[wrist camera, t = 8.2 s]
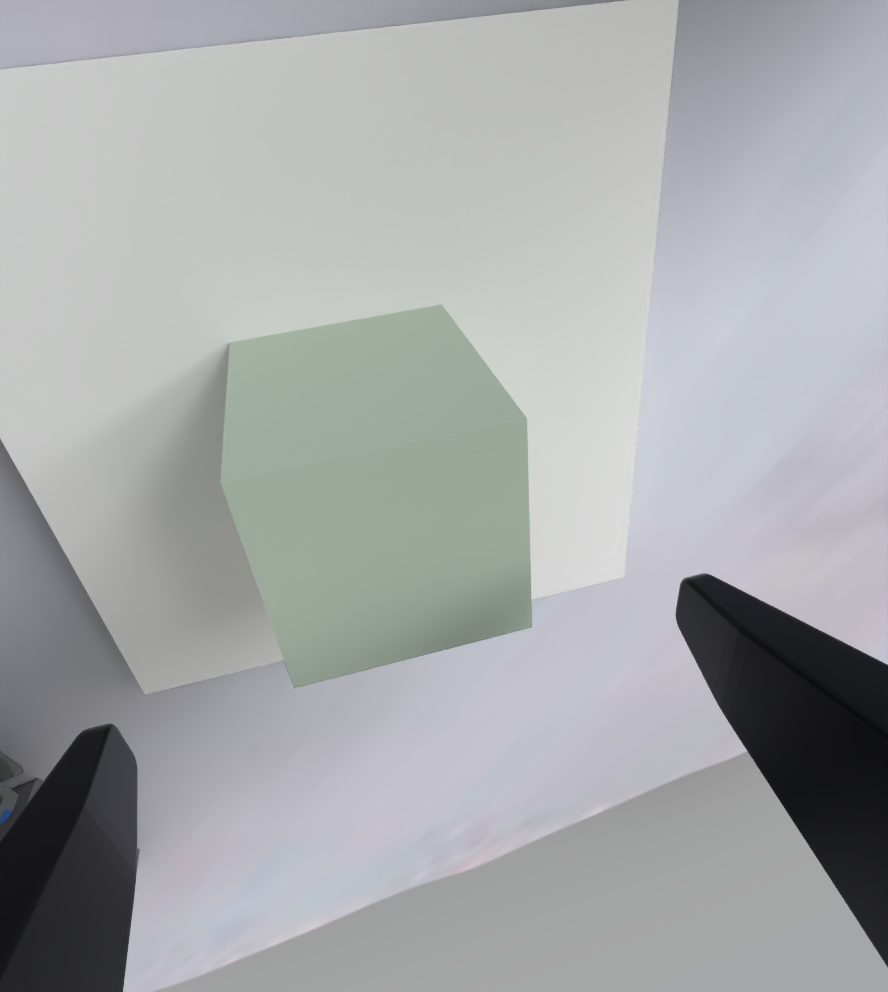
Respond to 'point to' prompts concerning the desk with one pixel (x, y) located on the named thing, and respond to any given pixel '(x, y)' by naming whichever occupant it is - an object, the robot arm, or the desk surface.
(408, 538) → the sage block
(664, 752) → the desk surface
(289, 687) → the desk surface
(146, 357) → the base plate
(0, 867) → the robot arm
